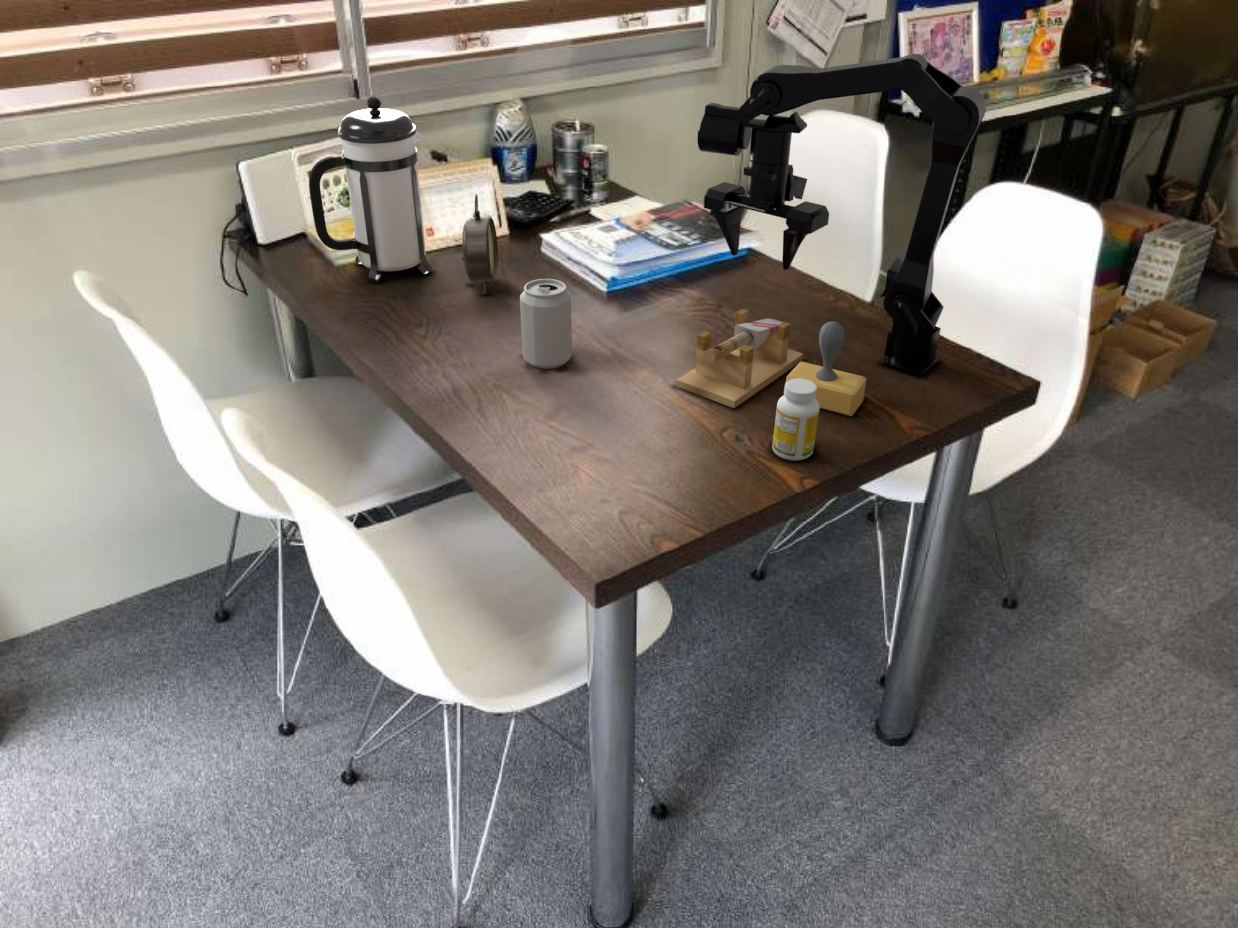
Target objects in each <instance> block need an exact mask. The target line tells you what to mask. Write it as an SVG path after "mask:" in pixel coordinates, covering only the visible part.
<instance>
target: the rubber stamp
mask: <svg viewBox="0 0 1238 928" xmlns="http://www.w3.org/2000/svg"><path fill="white" fill-rule="evenodd" d="M845 335H846V334H845V328H844V327H843V325H842V324H840V322H837V321H834V320H833V321H828V322H826V323H824V324H823V325H822V326H821V328H820V331H819V334H818V344H819V348H820V352H821V356H822V361H823V362H822V363H823V364H822V365H823V366H821V365H817V364H814V363H809V362H805V361H801V362H799V363H798V364H797V365H796V366H794V367H793V368H792V370H791V371H790V372H789V373H788V375H787V376H786V379H785V383H786V382H787V381H789V380H791V379H806V380H809V381H812V382H813V383H815V384H816V386H817V393H816V397H815V399H816V400H817V401H818V403H819V407H820V408H819V409H821V410H825V411H829V412H833V413H837V414H840V415H844V416H848V417H853V415H854V414H855V413H856V412H857V410H858V409H859V407H860V406H861V404H862V403H863V402H864V398H865V392H866V385H867V378H866V377H865V376H863V375H860V374H859V375H858V374H854V373H852V372H851V373H850V372H847V371H844V370H843V371H842V370H838V369H834V368H833V364H834V361H835V359H836V357H837V356H838V354H839V353H840V351H841V350H842V347H843V345H844V341H845Z"/></svg>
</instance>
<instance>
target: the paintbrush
mask: <svg viewBox="0 0 1238 928" xmlns="http://www.w3.org/2000/svg"><path fill="white" fill-rule="evenodd" d="M783 322H784V321H781V320H777V319H773V318H770V317H769V318H763V319H758V320H754V321H748V323H743V324H738V325H736V329H737V333H736V336H734V335H733V336H732V337H730V338H728V339H726V340H724V341H723V342H721V343H719V344H717V345H715V346H713V348H712V349H710V350H708V351H706V353H705V355H704V356H705V358H706V360H707V362H709V363H710V362H711V363H713V362H715V361H717V360H718V359H720V358H722V357H724V356H725V355H727V354H729V353H731V352H733V351H734V350H736V349H738V348H740V347H741V346H743V345H744V346H746V345H749V346H752V347H754V349H757V348H758V347H759V346H760V345H761V344H762V343H764V342H765V341H766V340H767V337H768V336H769V335H770V334H771V333H772V332H774V333H777V327H778V325H779V324H781V323H783Z"/></svg>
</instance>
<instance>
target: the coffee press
mask: <svg viewBox="0 0 1238 928" xmlns="http://www.w3.org/2000/svg"><path fill="white" fill-rule="evenodd" d="M366 101H367V102H366V105H367V107H368V108H366V109H365V108H364V109H361V110H356V111H353V112H351V113H349V114H347V115H346V116H345V117H344V118H343V119H342V120H341V123H340V127H339V128H338V129H337V135H338V137H339V139H340V141H341V146H342V153H341V156H333V155H331V156H327V157H324V158H322V159H320V160H318V161H317V162H316V163H315V164H314V165H313V167H312V168H311V170H310V173H309V177H308V191H309V199H310V204H311V211H312V217H313V218H312V219H313V223H314V228H315V231H316V234H317V236H318V238H319V240H320V241H321V243H322V244H323V245H324V246H325V247H326V248H329V249H331V250H335V251H350V250H356V252H357V255H356V257H355V258H354V261H355V263H356V264H357V265H358V266H362V265H363V266H364V267H366V268H368V269H370V270H369V273H368V281H369V282H370V283H377V284H378V283H379V282H380V281H381V277H382V275H383V273H384V272H398V271H404V270H409V269H411V268H417V269H418V271H419V272H420V273H421V274H423V275H428V274H430V273H431V272H432V270H433V268H432V265H431V264H430V262H429V261H428V259H427V258H426V242H425V241H426V240H425V230H424V221H423V220H424V219H423V210H422V199H421V190H420V179H419V170H418V169H419V168H418V161H419V156H418V148H417V147H416V143H417V142H423V141H425V138H424V137H423V136H422V134H421V133H419V132H418V131H417V127H416V126H417V125H415V124H414V123H413V122H412V119H411V118H410V117H409V116H408V115H407V114H406V113H404V112H402V111H400V110H396V109H392V108H391V109H390V108H383V107H382V108H381V105H382V101H381V99H380V98H379V97H377V96H374V95H372V96H369V98H368V99H367V100H366ZM337 167H344V168H345V174H346V182H347V189H348V197H349V203H350V204H349V205H350V210H351V218H352V225H353V231H354V232H353V233H354V234H353V237H351V238H346V239H336V238H333V237H332V236H331V235H330V234H329V232H328V230H327V229H328V228H327V224H326V218H325V210H324V204H323V198H322V191H321V179H322V177H323V175H324V174H325V172H327V171H329V170H331V169H336V168H337ZM421 263H422V264H423V265H424V266H423V265H422V264H421Z"/></svg>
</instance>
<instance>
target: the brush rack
mask: <svg viewBox="0 0 1238 928" xmlns="http://www.w3.org/2000/svg"><path fill="white" fill-rule="evenodd" d="M749 314H750V310H748V309H745V308H741V309H739V310H737V311H735V319H734V320H735V321H734V332H733V333H734V335H733V337H734V336H736V333H737V329H736V325H738V324H743V323H748V322H749ZM782 322H783V323H781V324H779V325H778V327H777V331H776V332H775V333H774V332H772V333H771V334H770V335H769V336H768V337H767V340H766V341H765V342H764V343H762V344H761V345H760V346H759V347H758V348H757V349H754V347H752V346H749V345H746V346H744V345H743V346H741V347H740V348H738V349H736V350H734V351H733V352H731V353H729V354H727V355H725V356H724V357H722V358H720V359H718V360H717V361H715V362H713V363H711V362H710V363H709V362H707V360H706V358H705V356H704V355H705V353H706V351H708V350H710V349H712V348H714V346H713V347H712V345H711V343H712V332H710V331H707V330H702V331H701V332H700V333H698V334H697V339H696V353H695V354H696V356H695V367H694V368H693V369H691V370H690V371H688V372H686V373H685V374H683V375H682V376H680V377H678V378H676V381H675V382H676V387H677V388H679V389H681V390H683V391H686V392H690V393H692V394H694V395H698V396H701V397H703V398H705V399H708V400H711V401H714V402H717V403H719V404H722V405H724V406H727V407H728V408H732V409H735V408H737V407H738V406H740V405H741V404H743V403H744V402H746V401H747V400H749V399H750V398H751V397H752V396H754V395H755V394H757V393H758V392H760V391H762V390H763V389H764V388H766V387H767V386H768V385H770V384H771V383H773V382H774V381H776V380H777V379H778V378H780V377H781V376H783V375H784V374H786V373H787V372H788V371H790V370H791V369H794V368H795V367H796V366H797V365H798V364H799V362H804V361H803V360H804V353H803V352H799V351H796V350H793V349H790V348H789V344H790V334H791V325H792V324H791V323H789V322H787V321H782Z"/></svg>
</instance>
